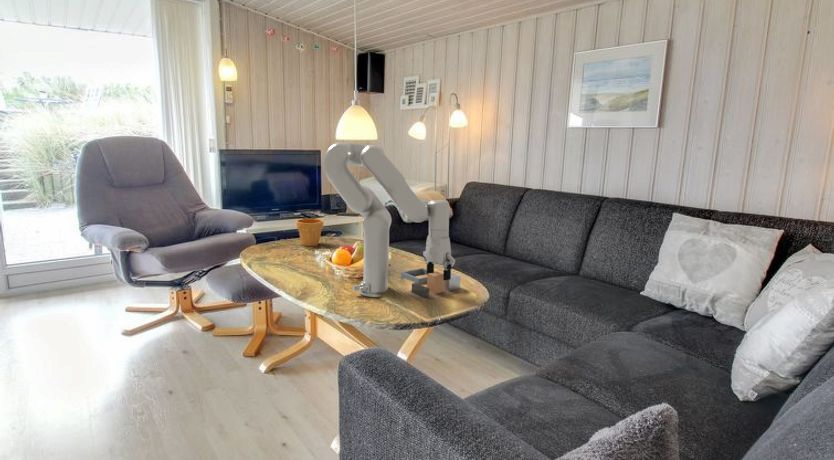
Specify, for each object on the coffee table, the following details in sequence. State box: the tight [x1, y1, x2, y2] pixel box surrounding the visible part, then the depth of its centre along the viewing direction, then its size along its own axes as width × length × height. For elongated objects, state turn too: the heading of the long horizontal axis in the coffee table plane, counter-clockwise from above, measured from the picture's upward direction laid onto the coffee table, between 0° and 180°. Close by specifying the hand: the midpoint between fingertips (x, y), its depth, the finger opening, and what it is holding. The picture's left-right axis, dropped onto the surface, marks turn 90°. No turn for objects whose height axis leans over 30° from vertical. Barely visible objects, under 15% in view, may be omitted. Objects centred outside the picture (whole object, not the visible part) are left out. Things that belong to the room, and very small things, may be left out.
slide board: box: [402, 282, 468, 302], centre depth 186 cm, size 23×12×5 cm, turn 129°
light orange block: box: [426, 271, 444, 294], centre depth 186 cm, size 5×4×7 cm
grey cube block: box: [444, 272, 462, 291], centre depth 190 cm, size 6×6×5 cm
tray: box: [400, 267, 428, 285], centre depth 203 cm, size 12×12×4 cm
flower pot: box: [295, 218, 324, 247], centre depth 261 cm, size 14×14×13 cm
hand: (438, 276), depth 185 cm, fingers open, 9 cm apart
